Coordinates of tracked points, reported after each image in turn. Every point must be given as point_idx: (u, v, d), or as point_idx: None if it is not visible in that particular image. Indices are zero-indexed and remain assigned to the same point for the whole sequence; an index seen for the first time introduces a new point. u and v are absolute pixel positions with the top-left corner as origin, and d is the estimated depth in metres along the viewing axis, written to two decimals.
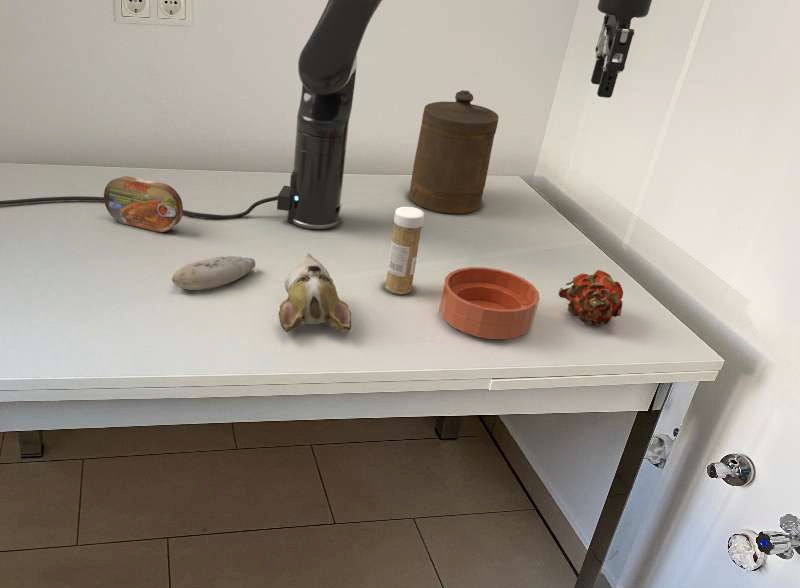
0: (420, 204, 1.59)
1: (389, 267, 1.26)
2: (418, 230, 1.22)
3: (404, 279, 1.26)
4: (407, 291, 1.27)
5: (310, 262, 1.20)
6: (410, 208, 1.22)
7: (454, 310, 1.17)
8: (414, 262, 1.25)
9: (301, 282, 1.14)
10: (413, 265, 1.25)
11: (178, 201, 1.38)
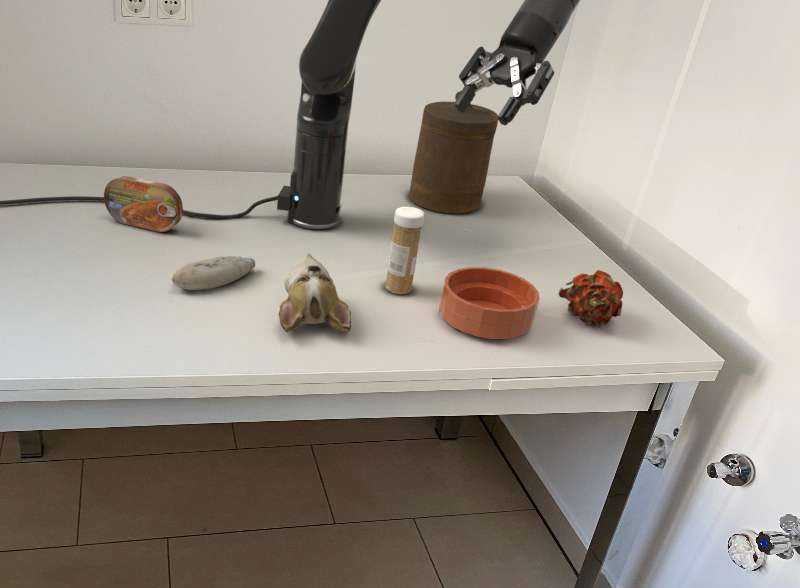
0: (420, 204, 1.59)
1: (389, 267, 1.26)
2: (418, 230, 1.22)
3: (404, 279, 1.26)
4: (407, 291, 1.27)
5: (310, 262, 1.20)
6: (410, 208, 1.22)
7: (454, 310, 1.17)
8: (414, 262, 1.25)
9: (301, 282, 1.14)
10: (413, 265, 1.25)
11: (178, 201, 1.38)
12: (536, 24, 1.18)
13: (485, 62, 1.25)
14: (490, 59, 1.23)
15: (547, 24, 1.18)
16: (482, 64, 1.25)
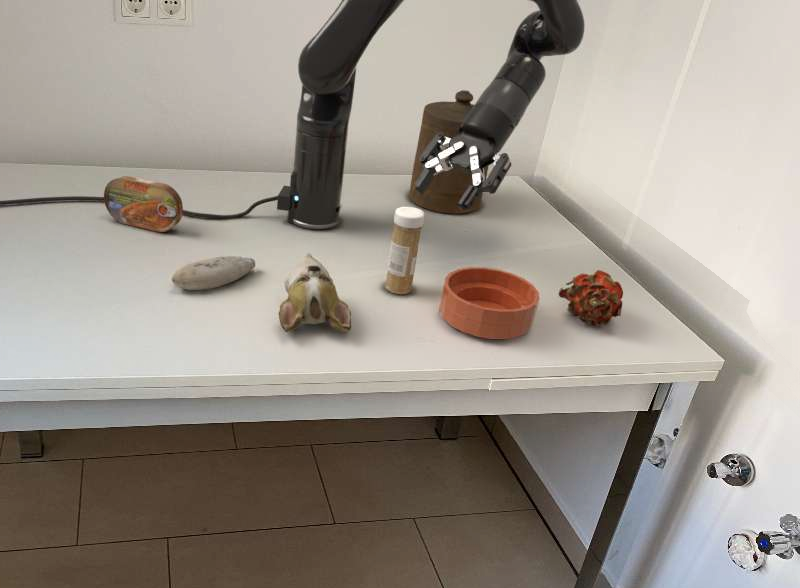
0: (420, 204, 1.59)
1: (389, 267, 1.26)
2: (418, 230, 1.22)
3: (404, 279, 1.26)
4: (407, 291, 1.27)
5: (310, 262, 1.20)
6: (410, 208, 1.22)
7: (454, 310, 1.17)
8: (414, 262, 1.25)
9: (301, 282, 1.14)
10: (413, 265, 1.25)
11: (178, 201, 1.38)
12: (495, 117, 1.22)
13: (444, 147, 1.29)
14: (449, 145, 1.27)
15: (506, 117, 1.23)
16: (441, 148, 1.29)
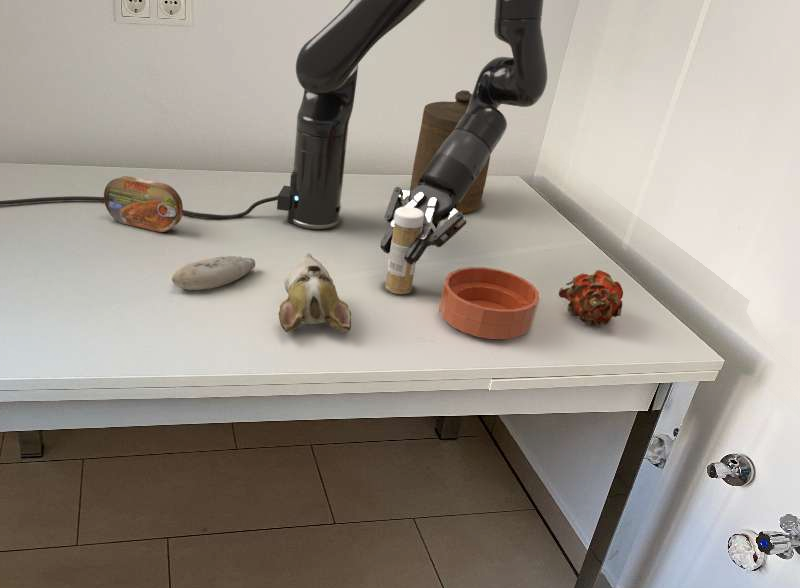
0: None
1: (389, 267, 1.26)
2: (418, 230, 1.22)
3: (404, 279, 1.26)
4: (407, 291, 1.27)
5: (310, 262, 1.19)
6: (410, 208, 1.22)
7: (454, 310, 1.17)
8: (414, 262, 1.25)
9: (301, 282, 1.14)
10: (413, 265, 1.25)
11: (178, 201, 1.38)
12: (455, 169, 1.21)
13: (405, 200, 1.27)
14: (410, 195, 1.26)
15: (465, 169, 1.21)
16: (403, 202, 1.27)
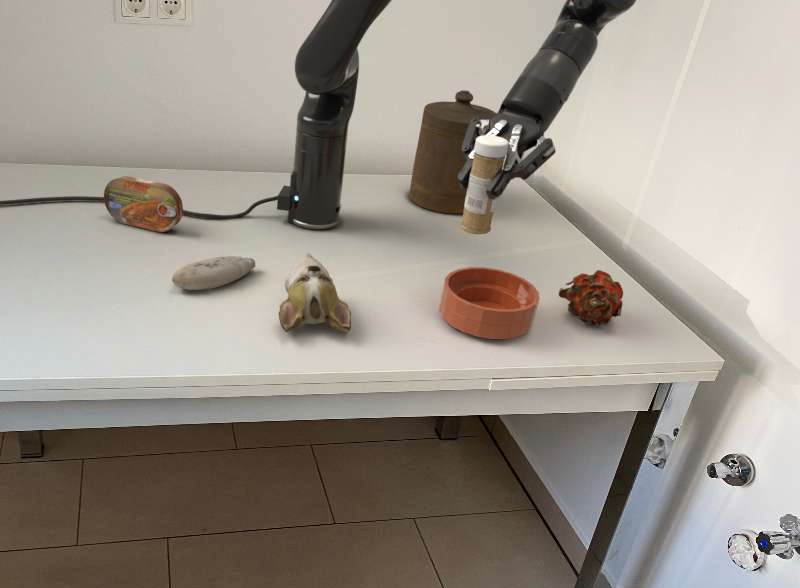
0: (420, 204, 1.59)
1: (467, 204, 1.14)
2: (502, 160, 1.09)
3: (483, 217, 1.14)
4: (486, 231, 1.15)
5: (310, 262, 1.19)
6: (492, 136, 1.10)
7: (454, 310, 1.17)
8: (495, 198, 1.13)
9: (301, 282, 1.14)
10: (494, 201, 1.13)
11: (178, 201, 1.38)
12: (543, 91, 1.09)
13: (483, 130, 1.15)
14: (490, 124, 1.13)
15: (554, 92, 1.09)
16: (481, 133, 1.15)
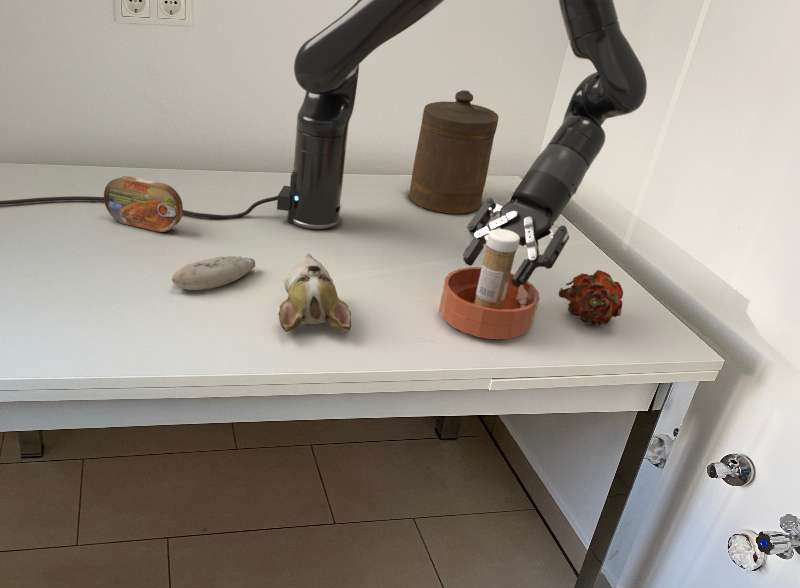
0: (420, 204, 1.59)
1: (479, 292, 1.19)
2: (513, 254, 1.15)
3: (494, 305, 1.19)
4: None
5: (310, 262, 1.19)
6: (504, 231, 1.16)
7: (454, 310, 1.17)
8: (506, 287, 1.18)
9: (301, 282, 1.14)
10: (505, 290, 1.18)
11: (178, 201, 1.38)
12: (553, 186, 1.14)
13: (494, 214, 1.20)
14: (501, 213, 1.18)
15: (563, 186, 1.14)
16: (491, 216, 1.20)
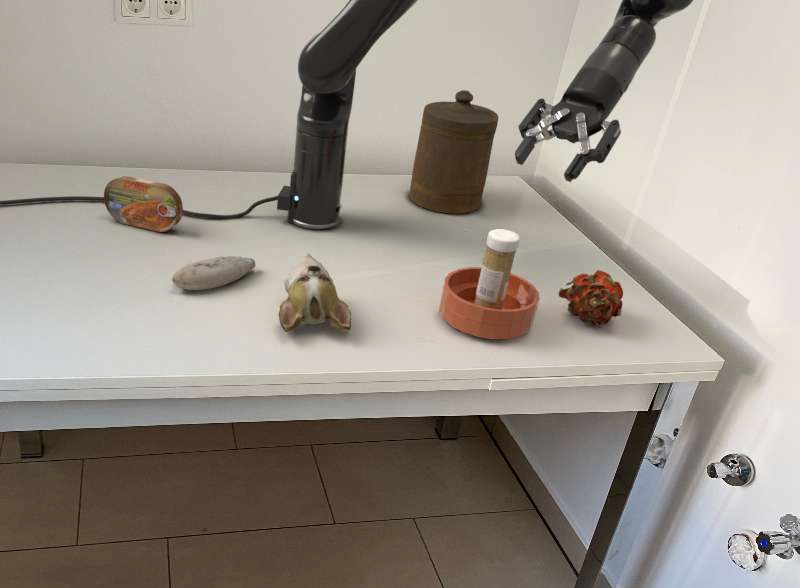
0: (420, 204, 1.59)
1: (479, 292, 1.19)
2: (513, 254, 1.15)
3: (494, 305, 1.19)
4: None
5: (310, 262, 1.20)
6: (504, 231, 1.16)
7: (454, 310, 1.17)
8: (506, 287, 1.18)
9: (301, 282, 1.14)
10: (505, 290, 1.18)
11: (178, 201, 1.38)
12: (605, 82, 1.16)
13: (545, 114, 1.22)
14: (552, 112, 1.21)
15: (615, 82, 1.16)
16: (542, 116, 1.23)
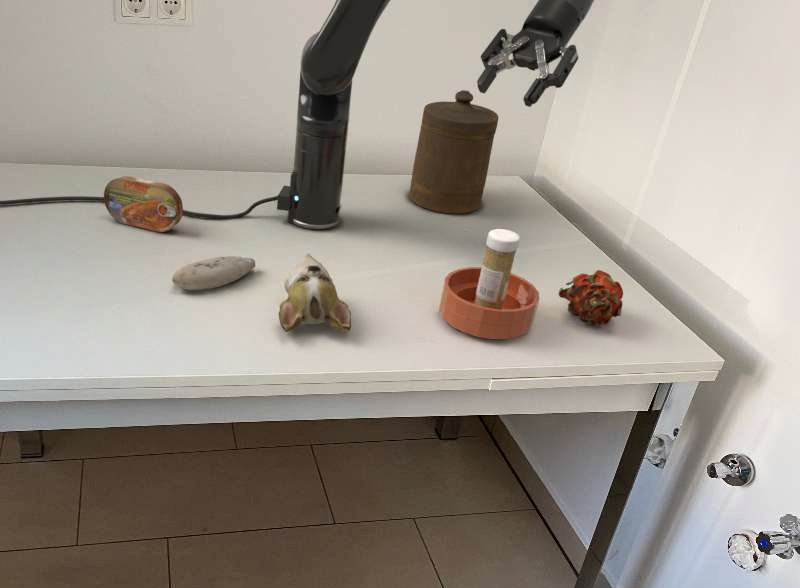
0: (420, 204, 1.59)
1: (479, 292, 1.19)
2: (513, 254, 1.15)
3: (494, 305, 1.19)
4: None
5: (310, 262, 1.19)
6: (504, 231, 1.16)
7: (454, 310, 1.17)
8: (506, 287, 1.18)
9: (301, 282, 1.14)
10: (505, 290, 1.18)
11: (178, 201, 1.38)
12: (563, 8, 1.20)
13: (507, 44, 1.26)
14: (513, 41, 1.24)
15: (573, 9, 1.20)
16: (503, 46, 1.26)
